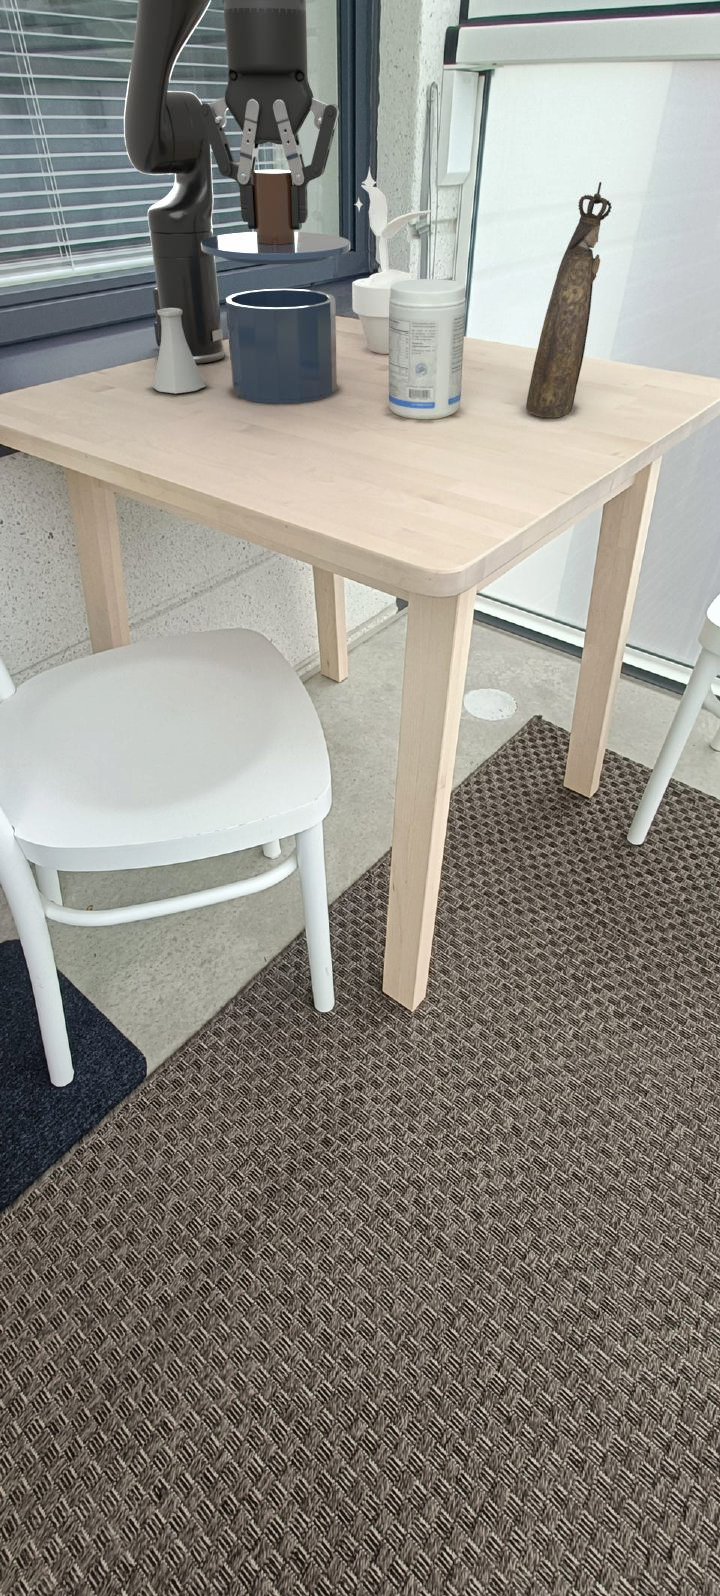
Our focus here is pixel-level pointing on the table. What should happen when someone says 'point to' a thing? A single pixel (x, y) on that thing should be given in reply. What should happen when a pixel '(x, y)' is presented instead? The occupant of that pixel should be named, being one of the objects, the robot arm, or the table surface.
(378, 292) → the potted plant
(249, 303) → the canister
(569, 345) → the statue
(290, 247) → the lid
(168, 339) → the flask
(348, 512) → the table surface
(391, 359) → the supplement tub
